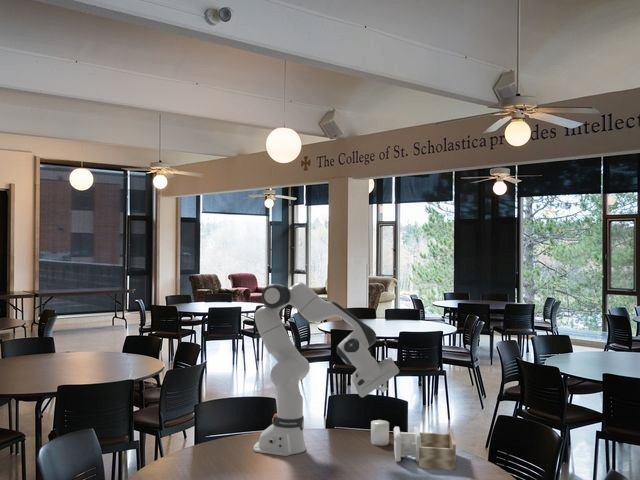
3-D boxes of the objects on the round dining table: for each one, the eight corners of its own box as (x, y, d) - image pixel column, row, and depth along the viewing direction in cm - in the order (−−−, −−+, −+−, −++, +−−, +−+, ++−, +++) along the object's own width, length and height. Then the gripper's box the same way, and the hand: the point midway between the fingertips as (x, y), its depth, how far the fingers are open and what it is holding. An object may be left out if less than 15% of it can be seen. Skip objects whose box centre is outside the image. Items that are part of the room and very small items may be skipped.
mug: (370, 445, 269) (370, 424, 269) (371, 437, 280) (372, 417, 280) (388, 446, 268) (388, 425, 268) (389, 438, 278) (389, 418, 279)
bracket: (419, 467, 242) (419, 442, 242) (418, 450, 262) (418, 427, 262) (455, 470, 240) (455, 444, 240) (452, 452, 260) (452, 429, 260)
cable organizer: (420, 465, 245) (421, 436, 245) (394, 464, 246) (394, 435, 246) (417, 452, 260) (418, 425, 260) (392, 451, 261) (393, 424, 261)
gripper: (387, 351, 259) (402, 372, 265) (347, 378, 259) (363, 398, 265) (392, 359, 253) (407, 380, 259) (352, 387, 254) (368, 407, 260)
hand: (384, 389), depth 262 cm, fingers closed
